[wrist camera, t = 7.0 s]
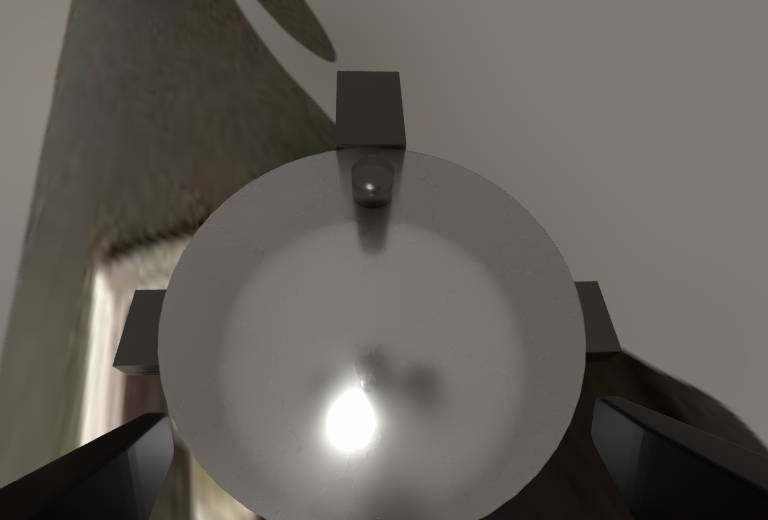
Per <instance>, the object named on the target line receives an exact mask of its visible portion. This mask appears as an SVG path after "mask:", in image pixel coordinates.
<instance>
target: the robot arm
mask: <svg viewBox="0 0 768 520" xmlns="http://www.w3.org/2000/svg"><path fill="white" fill-rule="evenodd" d="M591 432H592V439H593V442H594V444H595V446H596V448H597V450H598V452H599V454H600V456H601V457H602V459H603V461H604V463H605V465H606V467H607V469H608V471H609V473H610V475H611V476H612V478H613V480H614V482H615V484H616V486H617V488H618V490H619V492H620V494H621V495H622V497H623V499H624V501H625V503H626V505H627V506H628V508H629V510H630V512H631V513H632V515H633V517H634V518H635V520H768V457H766V456H763V455H761V454H758V453H756V452H753V451H751V450H748V449H746V448H743V447H741V446H739V445H736V444H734V443H731V442H729V441H726V440H724V439H721V438H719V437H716V436H714V435H711V434H709V433H706V432H704V431H702V430H699V429H697V428H694V427H692V426H689V425H687V424H684V423H682V422H679V421H677V420H674V419H672V418H669V417H667V416H665V415H662V414H660V413H657V412H655V411H652V410H650V409H647V408H645V407H642V406H640V405H637V404H635V403H632V402H630V401H628V400H625V399H623V398H620V397H616V396H610V397H599V398H598V399H597V400H596V402H595V406H594V414H593V422H592V431H591ZM173 454H174V445H173V438H172V430H171V423H170V418H169V416H168V414H166V413H164V412H158V413H145V414H143V415H141V416H139V417H137V418H135V419H133V420H131V421H129V422H127V423H125V424H124V425H122V426H120V427H118V428H116V429H114V430H112V431H110V432H108V433H106V434H104V435H102V436H100V437H99V438H97V439H95V440H93V441H91V442H89V443H87V444H85V445H83V446H81V447H79V448H77V449H75V450H74V451H72V452H70V453H68V454H66V455H64V456H62V457H60V458H58V459H56V460H54V461H52V462H50V463H49V464H47V465H45V466H43V467H41V468H39V469H37V470H35V471H33V472H31V473H29V474H27V475H25V476H24V477H22V478H20V479H18V480H16V481H14V482H12V483H10V484H8V485H6V486H4V487H2V488H0V520H149V517H150V515H151V512H152V510H153V507H154V505H155V502H156V500H157V497H158V495H159V492H160V490H161V487H162V485H163V482H164V479H165V477H166V474H167V472H168V469H169V467H170V464H171V462H172V459H173Z"/></svg>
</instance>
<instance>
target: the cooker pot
mask: <svg viewBox="0 0 768 520" xmlns="http://www.w3.org/2000/svg"><path fill="white" fill-rule="evenodd" d="M574 284H575V287H576V289H577V292H578V296H579V300H580V304H581V308H582V312H583V318H584V327H585V337H586V354H585V362H593V361H607V360H609V359H610V358H612V357H614V356H615V355H617V354H618V353H620V352H622V350H621V347H620V344H619V341H618V339H617V336H616V333H615V330H614V327H613V324H612V322H611V319H610V316H609V313H608V310H607V307H606V305H605V302H604V299H603V296H602V293H601V290H600V288H599V285H598V282H597V281H592V282H591V281H588V282H574ZM166 291H167V290H135V293H134V297H133V300H132V303H131V306H130V310H129V313H128V316H127V320H126V323H125V326H124V330H123V333H122V336H121V339H120V343H119V346H118V349H117V353H116V356H115V359H114V363H113V367H115V368H117V369H118V370H120V371H122V372H124V373H125V374H127V375H129V376H134V375H160V368H159V359H158V333H159V321H160V316H161V311H162V305H163V300H164V297H165V294H166Z"/></svg>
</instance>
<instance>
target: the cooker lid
mask: <svg viewBox="0 0 768 520" xmlns="http://www.w3.org/2000/svg"><path fill="white" fill-rule="evenodd" d="M335 147H336V151H330V152H325V153H321V154H317V155H312V156H308V157H305V158H302V159H299V160H296V161H293V162H290V163H288V164H285V165H283V166H281V167H279V168H276V169H274V170H272V171H270V172H268V173H266V174H264V175H262V176H261V177H259V178H257V179H255V180H254V181H252V182H250V183H249V184H247V185H246V186H244V187H243V188H242V189H240V190H239V191H238V192H236V193H235V194H234V195H232V196H231V197H230V198H228V199H227V200H226V201H225V202H224V203H223V204H222V205H221V206H220V207H219V208H218V209H216V210H215V211H214V212H213V213H212V214H211V215H210V216H209V218H208V219H207V220H206V221H205V222H204V224H203V225H202V226H201V227H200V228H199V229H198V231H197V232H196V233H195V235H194V236H193V238H192V239H191V241H190V242H189V244H188V245H187V247H186V248H185V250H184V251H183V253H182V255H181V257H180V259H179V261H178V263H177V265H176V267H175V269H174V271H173V273H172V276H171V279H170V282H169V285H168V288H167V291H166V294H165V297H164V300H163V305H162V311H161V316H160V321H159V333H158V359H159V368H160V377H161V383H162V387H163V390H164V394H165V398H166V401H167V405H168V409H169V411H170V413H171V415H172V418H173V420H174V422H175V424H176V427H177V429H178V431H179V433H180V435H181V437H182V439H183V440H184V442H185V443H186V445H187V446H188V448H189V450H190V451H191V453H192V454H193V456H194V457H195V459H196V460H197V462H198V463H199V464H200V465H201V466H202V468H203V469H204V470H205V471H206V472H207V473H208V474H209V475H210V476H211V477H212V478H213V480H214V481H215V482H216V483H217V484H218V485H219V486H220V487H221V488H222V489H223V490H225V491H226V492H227V493H228V494H230V495H231V496H232V497H233V498H235V499H236V500H237V501H239V502H240V503H241V504H242V505H244V506H245V507H246V508H247V509H249V510H251V511H253V512H254V513H256V514H258V515H260V516H262V517H264V518H265V519H267V520H478V519H481V518H483V517H485V516H487V515H488V514H490V513H491V512H493V511H494V510H495V509H497V508H498V507H500V506H501V505H503V504H504V503H505V502H507V501H508V500H510V499H511V498H512V497H514V496H515V495H516V494H517V493H518V492H519V491H520V490H521V489H522V488H523V487H524V486H525V485H527V484H528V483H529V482H530V481H531V480H532V479H533V478H534V477H535V476H536V475H537V474H538V473H539V471H540V470H541V469H542V467H543V466H544V465H545V463H546V462H547V461H548V459H549V458H550V457H551V455H552V454H553V453H554V451H555V450H556V449H557V447H558V445H559V443H560V441H561V439H562V437H563V435H564V434H565V432H566V430H567V428H568V426H569V424H570V422H571V420H572V417H573V414H574V411H575V408H576V405H577V402H578V399H579V396H580V392H581V387H582V381H583V376H584V370H585V354H586V337H585V327H584V318H583V312H582V308H581V304H580V300H579V296H578V292H577V289H576V287H575V284H574V282H573V279H572V276H571V274H570V271H569V269H568V267H567V265H566V263H565V261H564V259H563V258H562V256H561V254H560V252H559V250H558V248H557V247H556V245H555V244H554V243H553V241H552V240H551V238H550V237H549V236H548V234H547V233H546V231H545V230H544V229H543V227H542V226H541V225H540V224H539V223H538V222H537V221H536V220H535V219H534V217H533V216H532V215H531V214H530V213H529V212H528V211H527V210H526V209H525V208H524V207H523V206H522V205H520V204H519V203H518V202H517V201H516V200H515V199H514V198H513V197H511V196H510V195H509V194H507V193H506V192H505V191H503V190H502V189H500V188H499V187H498V186H496V185H495V184H493V183H492V182H490V181H488V180H487V179H485V178H483V177H481V176H480V175H478V174H476V173H474V172H472V171H470V170H468V169H466V168H463V167H461V166H459V165H457V164H455V163H452V162H448V161H445V160H443V159H440V158H437V157H434V156H430V155H425V154H421V153H417V152H412V151H405V149H406V138H405V128H404V117H403V107H402V98H401V87H400V78H399V72H366V71H364V72H363V71H337V98H336V136H335Z"/></svg>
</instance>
